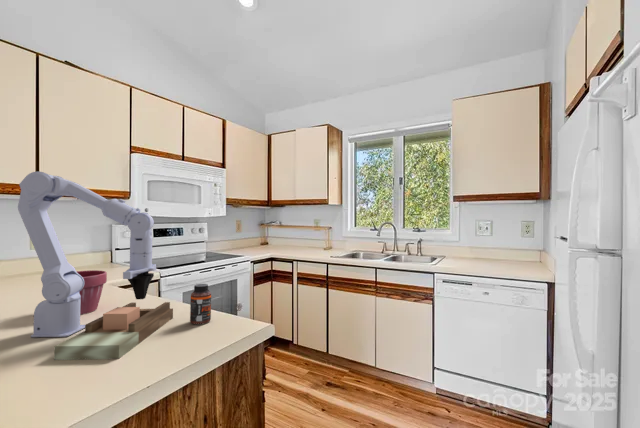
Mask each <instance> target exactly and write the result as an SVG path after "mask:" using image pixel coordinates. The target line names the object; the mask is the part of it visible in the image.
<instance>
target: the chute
mask: <svg viewBox="0 0 640 428" xmlns="http://www.w3.org/2000/svg"><path fill="white" fill-rule="evenodd" d="M122 307H137V302H130V303H127V304H126V305H123V306H122ZM172 319H174V308H171V302H169V301H167V302H166V301H165V302H163V303H161V304H160V305H158V306H156V307H155V308H140V318H138V319H136V320H135V321H133V322H131V323H130V324H129V328H128V329H114V330H103V315H102V316H100V317H98V318H96V319H94V320H92V321H90V322H88V323H86V324H84V325H85V328H84V331H82V332H80V333H78V334H76V335H74V336H72V337H70V338H68V339H66V340H64V341H62V342H60V343H58V344H57V345H54V348H53V349H54V350H53V351H54V354H53V356H54V357H53V360H54V361H59V360H62V361H64V360H65V361H66V360H67V361H68V360H69V361H71V360H109V359H110V360H113V359H120V358H122V357H123V356H124V355H126V354H127V353H129V352H130V351H132V350H133V349H134V348H135V347H136V346H138V345H139V344H140V343H142V342H143V341H144V340H146V339H147V338H148V337H150V336H151V335H152V334H153V333H155V332H156V331H157V330H159V329H160V328H161V327H164V325H165V324H167V323H168V322H169V320H170V321H171V320H172Z"/></svg>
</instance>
